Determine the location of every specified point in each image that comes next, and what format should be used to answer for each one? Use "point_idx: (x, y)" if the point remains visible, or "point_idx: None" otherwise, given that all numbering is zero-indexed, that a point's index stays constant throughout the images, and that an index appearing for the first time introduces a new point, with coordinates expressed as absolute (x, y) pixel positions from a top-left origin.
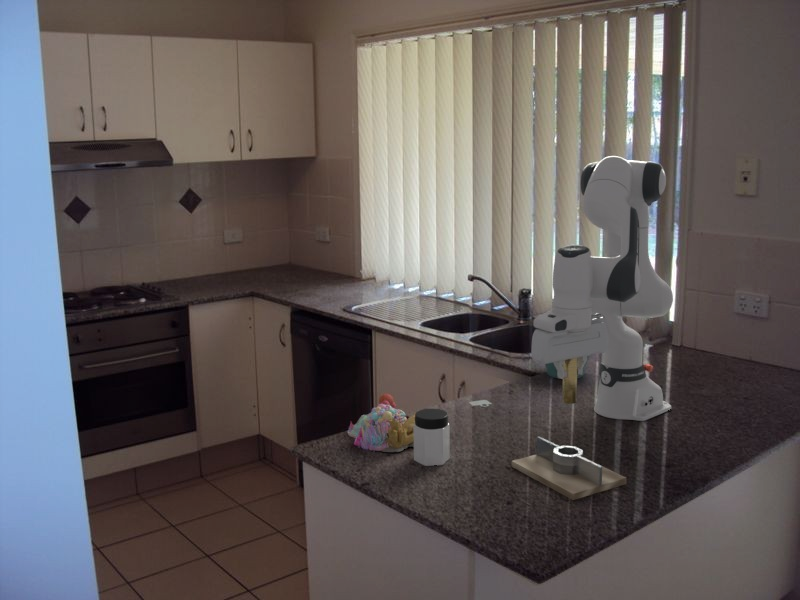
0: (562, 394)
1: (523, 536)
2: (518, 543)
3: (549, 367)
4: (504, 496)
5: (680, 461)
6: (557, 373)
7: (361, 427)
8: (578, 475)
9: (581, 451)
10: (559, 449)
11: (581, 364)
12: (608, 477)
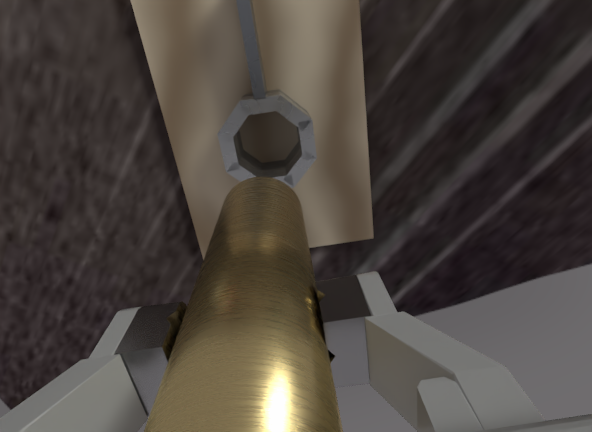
0: (218, 218)
1: (41, 342)
2: (24, 359)
3: None
4: (51, 180)
5: (585, 173)
6: (107, 329)
7: None
8: None
9: (305, 166)
10: (253, 113)
11: (400, 405)
12: (336, 220)
